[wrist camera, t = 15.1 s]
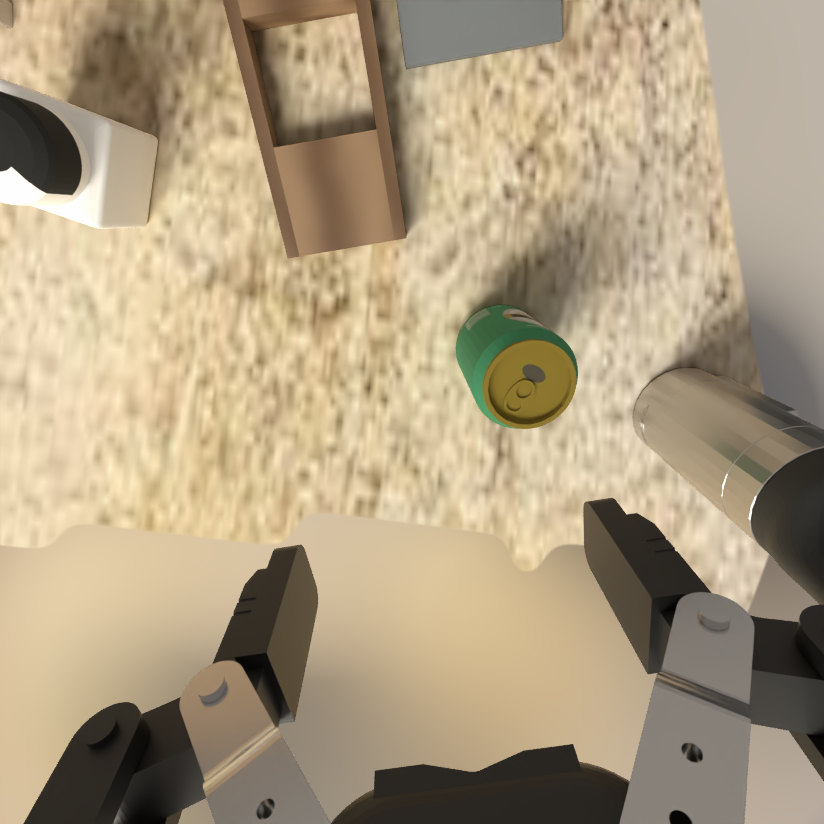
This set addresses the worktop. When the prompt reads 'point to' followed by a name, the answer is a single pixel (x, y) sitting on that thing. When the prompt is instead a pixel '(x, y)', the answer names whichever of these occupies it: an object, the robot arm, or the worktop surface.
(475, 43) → the rubber mat
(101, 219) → the medicine bottle
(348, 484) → the worktop surface
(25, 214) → the worktop surface
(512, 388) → the beverage can
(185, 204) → the worktop surface
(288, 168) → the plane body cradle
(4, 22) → the lighter
